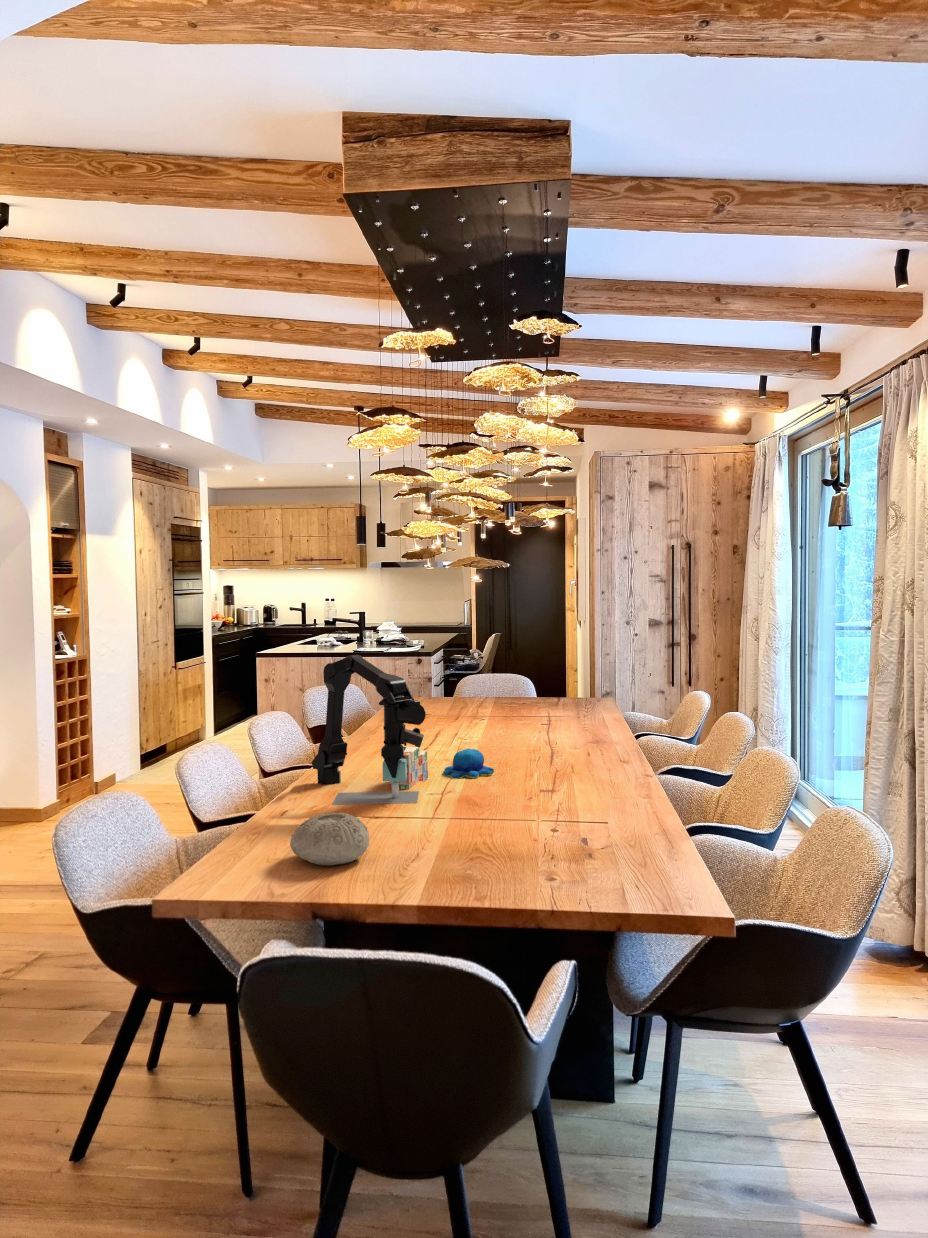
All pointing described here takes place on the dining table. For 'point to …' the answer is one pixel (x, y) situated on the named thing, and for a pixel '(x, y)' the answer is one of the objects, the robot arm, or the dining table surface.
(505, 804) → the dining table surface
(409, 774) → the stack of blocks
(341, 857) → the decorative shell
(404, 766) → the teal hollow block
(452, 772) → the plush toy
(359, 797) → the grey piece
